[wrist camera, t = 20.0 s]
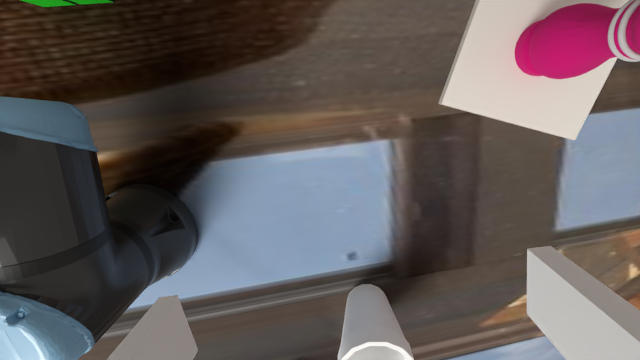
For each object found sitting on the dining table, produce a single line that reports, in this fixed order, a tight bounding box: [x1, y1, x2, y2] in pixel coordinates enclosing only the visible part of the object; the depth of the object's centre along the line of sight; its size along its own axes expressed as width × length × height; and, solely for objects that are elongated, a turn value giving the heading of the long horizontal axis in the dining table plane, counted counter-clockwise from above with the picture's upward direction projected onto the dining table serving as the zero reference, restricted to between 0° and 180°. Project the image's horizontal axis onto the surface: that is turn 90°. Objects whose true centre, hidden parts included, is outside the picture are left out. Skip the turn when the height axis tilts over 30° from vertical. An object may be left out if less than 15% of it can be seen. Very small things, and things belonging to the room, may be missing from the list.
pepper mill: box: [515, 0, 640, 79], centre depth 26 cm, size 7×7×20 cm
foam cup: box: [338, 284, 414, 360], centre depth 42 cm, size 10×9×13 cm
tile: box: [438, 0, 629, 140], centre depth 36 cm, size 18×18×1 cm
